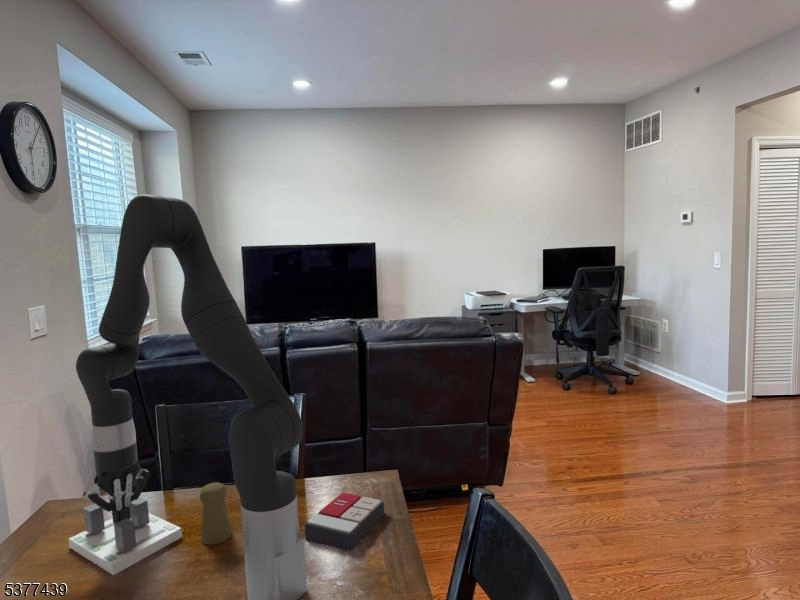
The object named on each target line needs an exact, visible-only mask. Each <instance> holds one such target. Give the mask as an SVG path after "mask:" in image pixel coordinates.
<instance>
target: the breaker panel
mask: <svg viewBox="0 0 800 600" xmlns="http://www.w3.org/2000/svg"><path fill="white" fill-rule="evenodd" d="M130 520H131V519H130ZM104 526H105V529H104V530H102V531H100V532H98V533H96V534H94V535H92V534H90V533H88V532H86V530H85V531H81V532H80V533H77V534H76V535H74V536H71V537H69V538H68V543H69V545H68V546H69V548H70V549H71V550H72V549H73V550H72V551H74V552H76V553H77V554H79V555H80V556H82V557H84V558H85V559H87V560H88V561H90V562H91V561H92V563H93V564H95V565H96V564H97V565H96V566H97V567H99V566H100V567H99V568H101V569H102V568H103V569H102V570H104V571H106V572H108V573H109V574H111V575H112V576H115V575H117V574H119V573H120V572H122V571H124V570H125V569H127V568H129V567H131V566H133V565H135V564H136V563H138V562H140V561H142V560H143V559H145V558H147V557H149V556H151V555H152V554H154V553H157V552H158V551H160V550H162V549H163V548H165V547H166V546H169V545H170V544H172V543H174V542H176V541H178V540H179V539H182V538H183V534H182V533H183V531H182V527H180V526H177V525H175V524H173V523H172V522H169V521H168V520H164V519H162V518H160V517H159V516H156V515H154V514H152V513H150V512H149V523H148V524H146V525H144V526H142V527H140V528H136V527H135V537H136V547H135V548H133V549H131V550H129V551H127V552H125V553H123V552H121V551H120V550H118V549H116V541H115V531H114V523H113V517H112V518H110V519H107V520H105V521H104Z"/></svg>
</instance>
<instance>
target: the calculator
mask: <svg viewBox="0 0 800 600" xmlns="http://www.w3.org/2000/svg"><path fill="white" fill-rule="evenodd" d="M383 514H384V515H385V503H384V502H383V501H382V500H381V499H377V498H373V497H372V498H371V497H367V496H362V497H361V496H360V495H356V494H352V493H347V492H341V493H339V495H338V496H337V497H335V498H334V499H333V500H332V501H330V502H329V503H327V505H325V506H324V507H323V508H321V509H320V510H319V511H318V512H317V513H316V514H315V515H314V516H313V517H311V518H310V519H309V520H308V521H306V522H305V523H304V540H305V541H307V540H309V541H308V542H311V541H312V543H315V542H316V544H319V545H323V544H324V545H323V546H327V545H328V546H327V547H331V546H333V547H332V548H335V547H336V548H335V549H338V548H340V549H339V550H342V549H343V551H346V550H348V551H347V552H352V551H353V550H354V549H355V548H356V547H357V545H358V544H359V543H360V542H361V541H362V540H361V539H363V538H364V537H365V536H366V535H365V534H368V532H369V531H371V530H372V528H373V527H374V526H375V525H376V524H377V523H378V522H379V521H380V519H381V518H382V517H383V516H384V515H383ZM382 515H383V516H382ZM381 516H382V517H381ZM380 517H381V518H380ZM379 518H380V519H379ZM378 520H379V521H378ZM377 521H378V522H377ZM376 522H377V523H376ZM375 523H376V524H375ZM374 524H375V525H374ZM373 525H374V526H373ZM360 540H361V541H360ZM359 541H360V542H359ZM355 546H356V547H355ZM354 547H355V548H354ZM351 550H352V551H351Z"/></svg>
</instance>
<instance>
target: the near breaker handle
mask: <svg viewBox="0 0 800 600" xmlns="http://www.w3.org/2000/svg"><path fill="white" fill-rule="evenodd" d="M114 531H115V541H116V549H118V550H120V551H121V552H123V553H125V552H127V551H129V550H131V549H133V548H135V547H136V537H135V527H134V522H133V521H131V520H129V519H127V518H126V519H124V520H122V521H119V522H117V523H115V524H114Z"/></svg>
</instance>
